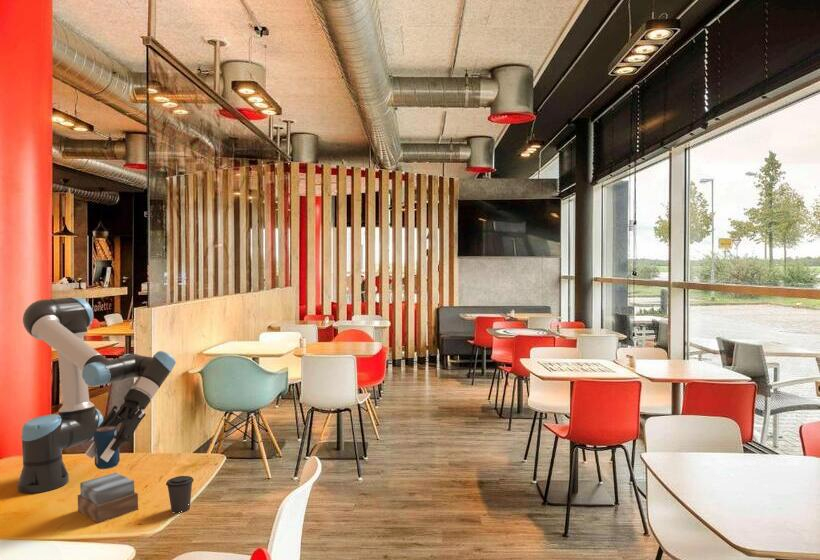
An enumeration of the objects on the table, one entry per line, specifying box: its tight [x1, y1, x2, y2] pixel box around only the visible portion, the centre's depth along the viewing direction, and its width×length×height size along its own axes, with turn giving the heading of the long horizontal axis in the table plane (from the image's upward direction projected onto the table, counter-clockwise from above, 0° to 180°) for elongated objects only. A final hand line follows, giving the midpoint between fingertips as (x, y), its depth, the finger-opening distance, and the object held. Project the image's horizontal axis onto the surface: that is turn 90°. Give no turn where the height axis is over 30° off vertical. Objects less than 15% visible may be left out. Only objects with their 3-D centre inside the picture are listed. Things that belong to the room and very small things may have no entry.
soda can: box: [93, 426, 121, 470], centre depth 183 cm, size 7×7×12 cm
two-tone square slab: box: [77, 472, 139, 524], centre depth 184 cm, size 14×12×9 cm
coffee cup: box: [165, 475, 195, 514], centre depth 183 cm, size 8×8×10 cm
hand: (96, 457), depth 180 cm, fingers closed on soda can, 7 cm apart
